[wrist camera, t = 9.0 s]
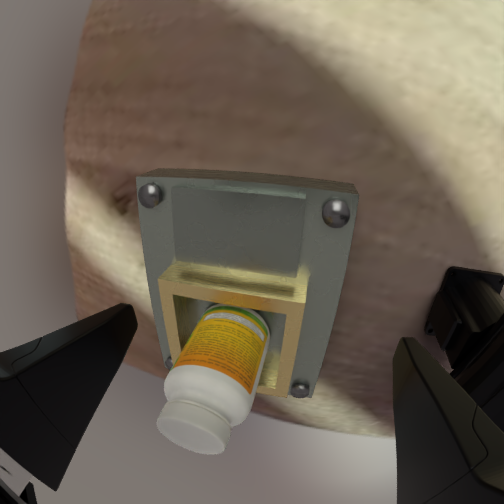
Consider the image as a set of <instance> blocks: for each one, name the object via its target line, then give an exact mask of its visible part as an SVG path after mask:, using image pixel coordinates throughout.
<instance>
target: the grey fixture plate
mask: <svg viewBox="0 0 504 504" xmlns="http://www.w3.org/2000/svg"><path fill="white" fill-rule="evenodd" d="M136 183H137V197H138V208H139V219H140V228H141V237H142V245H143V253H144V260H145V267H146V273H147V280H148V286H149V292H150V298H151V303H152V309H153V314H154V319H155V324H156V329H157V334H158V338H159V343H160V347H161V352H162V356H163V360H164V364H165V368H168V369H169V370H171V368H172V367H173V365H174V363H175V362H176V360H177V358H178V357H179V355H180V353H181V351H182V350H183V348H184V346H185V345H186V343H187V341H188V339H189V338H190V336H191V334H192V332H193V331H194V329H195V327H196V325H197V324H198V322H199V320H200V318H201V317H202V315H203V314H204V312H205V311H206V310H207V309H209V308H210V307H212V306H214V305H216V304H220V303H221V304H226V305H232V306H238V307H244V308H250V309H252V310H254V311H255V312H256V313H257V314H259V315H260V316H261V317H262V318H263V320H264V321H265V323H266V324H267V326H268V329H269V332H270V341H269V346H268V350H267V354H266V358H265V361H264V365H263V369H262V372H261V376H260V380H259V383H258V387H257V390H256V393H261V394H266V395H272V396H278V397H285V398H287V395H292V396H294V397H296V398H305V397H308V398H311V397H312V394H313V391H314V388H315V385H316V382H317V379H318V376H319V372H320V369H321V366H322V362H323V359H324V355H325V352H326V348H327V345H328V341H329V338H330V334H331V330H332V326H333V323H334V319H335V315H336V311H337V307H338V302H339V298H340V294H341V290H342V285H343V281H344V276H345V271H346V267H347V262H348V257H349V252H350V246H351V241H352V236H353V230H354V224H355V218H356V212H357V206H358V199H359V194H358V192H357V190H356V188H355V186H354V184H350V183H343V182H336V181H328V180H320V179H312V178H303V177H294V176H284V175H274V174H263V173H250V172H236V171H219V170H197V169H155V170H153V171H150V172H147V173H145V174H142V175H139V176H137V177H136Z"/></svg>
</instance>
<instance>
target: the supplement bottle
mask: <svg viewBox="0 0 504 504" xmlns="http://www.w3.org/2000/svg"><path fill="white" fill-rule="evenodd" d="M269 341H270V332H269V329H268V326H267V324H266V323H265V321H264V320H263V318H262V317H261V316H260V315H259V314H257V313H256V312H255V311H254V310H252V309H250V308H244V307H238V306H232V305H226V304H221V303H220V304H216V305H214V306H212V307H210V308H209V309H207V310H206V311H205V312H204V314H203V315H202V317H201V318H200V320H199V322H198V324H197V325H196V327H195V329H194V331H193V332H192V334H191V336H190V338H189V339H188V341H187V343H186V345H185V346H184V348H183V350H182V351H181V353H180V355H179V357H178V358H177V360H176V362H175V363H174V365H173V367H172V368H171V370H170V372H169V374H168V376H167V377H166V380H165V382H164V392H165V396H166V398H167V400H168V402H167V403H166V404H165V406H164V407H163V409H162V411H161V413H160V415H159V417H158V419H157V423H156V424H157V428H158V429H159V431H160V432H161V433H162V434H163V435H164V436H165V437H166V438H167V439H169V440H170V441H172V442H173V443H175V444H177V445H179V446H181V447H183V448H185V449H188V450H190V451H193V452H197V453H201V454H209V455H213V454H214V455H216V454H220V453H222V452H223V451H224V450H225V449H226V446H227V443H228V441H229V438H230V436H231V427H234V426H237V425H239V424H241V423H242V422H244V421H245V419H246V418H247V417H248V415H249V413H250V410H251V408H252V405H253V401H254V398H255V394H256V390H257V387H258V383H259V380H260V376H261V372H262V369H263V365H264V361H265V358H266V354H267V350H268V346H269Z"/></svg>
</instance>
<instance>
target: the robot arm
mask: <svg viewBox="0 0 504 504" xmlns="http://www.w3.org/2000/svg"><path fill="white" fill-rule="evenodd" d="M452 272H454V274H453V275H451V274H452ZM500 279H501V280H500ZM499 280H500V281H499ZM503 285H504V275H503V274H500V273H494V272H488V271H481V270H475V269H468V268H462V267H455V266H452V267H450V268H449V269H448V270H447V273H446V276H445V278H444V281H443V284H442V287H441V289H440V291H439V292H438V294H437V297H436V299H435V302H434V304H433V307H432V309H431V312H430V314H429V319H428V321H427V324H426V326H425V329H424V330H425V333H426V334H427V335H435V336H436V337H437V340H438V342H439V345H440V348H441V350H442V351H445V352H446V354H447V357H448V360H449V362H450V365H451V368H452V369H454V370H453V371H452V372H451V373H450V374H449V373H448V372H447V371H446V370H445V369H444V368H443V367H442V366H441V365H440V364H439V363H438V362H437V361H436V360H435V359H434V358H433V357H432V356H431V355H430V353H429V352H428V351H427V350H426V349H425V348H424V347H423V346H422V345H421V344H420V343H419V342H418V341H417V340H416V339H415V338H413V337H402V338H401V339H400V341H399V344H398V346H397V349H396V351H395V354H394V357H393V411H394V422H395V435H396V452H397V453H396V454H397V504H504V299H503V298H502V297H501V296H500V292H501V290H502V287H503ZM137 327H138V323H137V319H136V315H135V312H134V308H133V306H132V305H130V304H126V303H120V304H118V305H115V306H113V307H110V308H108V309H106V310H103V311H101V312H99V313H96V314H94V315H92V316H89V317H87V318H85V319H82V320H80V321H78V322H75V323H73V324H71V325H68V326H66V327H63V328H61V329H59V330H56V331H54V332H52V333H49V334H47V335H45V336H43V337H40V338H38V339H35V340H33V341H31V342H28V343H26V344H23V345H20V346H18V347H15V348H12V349H9V350H6V351H4V352H0V504H37V501H36V496H35V492H34V487H33V484H32V483H31V482H30V481H29V480H30V479H31V478H32V476H34V477H36V478H37V479H38V480H40V481H41V482H43V483H44V484H45V485H47V486H48V487H50V488H51V489H53V490H54V491H57V489H58V488H59V485H60V483H61V481H62V479H63V476H64V474H65V472H66V470H67V468H68V466H69V463H70V461H71V459H72V457H73V455H74V453H75V451H76V448H77V447H78V444H79V442H80V441H81V438H82V436H83V435H84V433H85V431H86V429H87V427H88V424H89V423H90V421H91V419H92V417H93V415H94V413H95V411H96V409H97V407H98V406H99V404H100V402H101V400H102V398H103V396H104V394H105V392H106V391H107V389H108V387H109V385H110V383H111V381H112V379H113V378H114V376H115V374H116V373H117V371H118V369H119V367H120V365H121V363H122V362H123V359H124V357H125V355H126V353H127V350H128V348H129V346H130V344H131V341H132V339H133V337H134V335H135V332H136V330H137ZM431 328H432V329H431ZM429 329H430V330H429Z"/></svg>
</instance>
